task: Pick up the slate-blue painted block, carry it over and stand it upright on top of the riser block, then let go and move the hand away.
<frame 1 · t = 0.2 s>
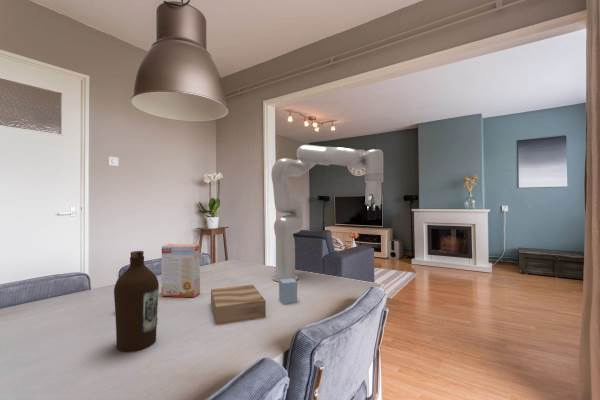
hand: (374, 219, 122), 31 cm above the table, tool pointing down, fingers open, 9 cm apart
cracker box: (181, 295, 120), on the table
riser block: (236, 311, 103), on the table
small box: (132, 310, 104), on the table
olive oil: (137, 344, 79), on the table
blue block: (288, 301, 112), on the table
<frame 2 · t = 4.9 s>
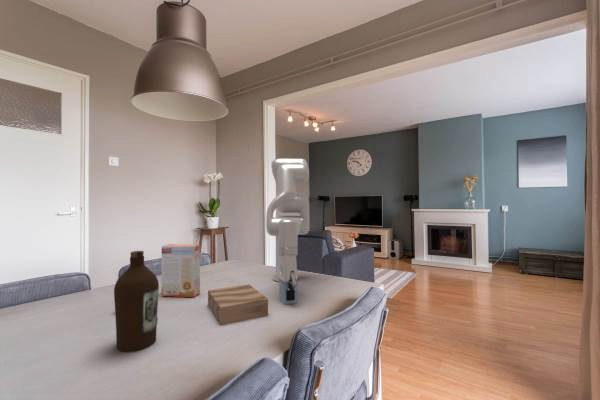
hand: (288, 297, 112), 2 cm above the table, tool pointing down, fingers closed on blue block, 5 cm apart
blue block: (288, 301, 112), on the table, touching gripper
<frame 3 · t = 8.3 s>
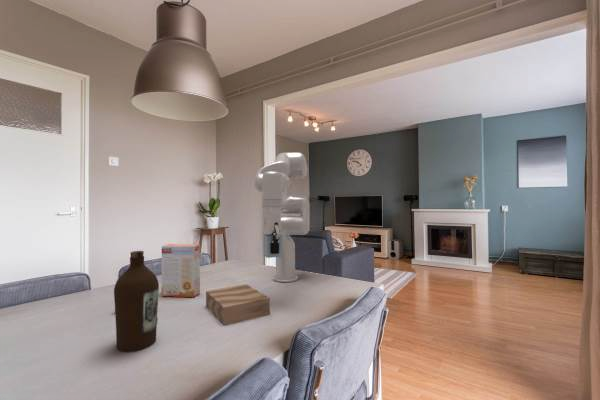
hand: (272, 251, 109), 20 cm above the table, tool pointing down, fingers closed on blue block, 5 cm apart
blue block: (272, 256, 109), point 18 cm above the table, touching gripper
when the fingers open (9 cm above the table, at t = 11.7 s): blue block drops 2 cm, point 6 cm above the table.
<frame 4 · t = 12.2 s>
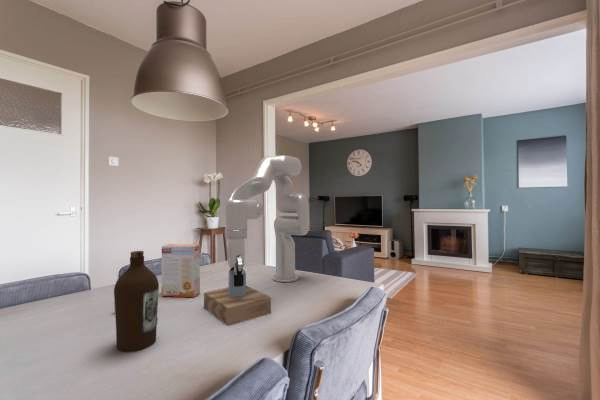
hand: (236, 282, 103), 10 cm above the table, tool pointing down, fingers open, 9 cm apart
blue block: (237, 294, 103), point 6 cm above the table
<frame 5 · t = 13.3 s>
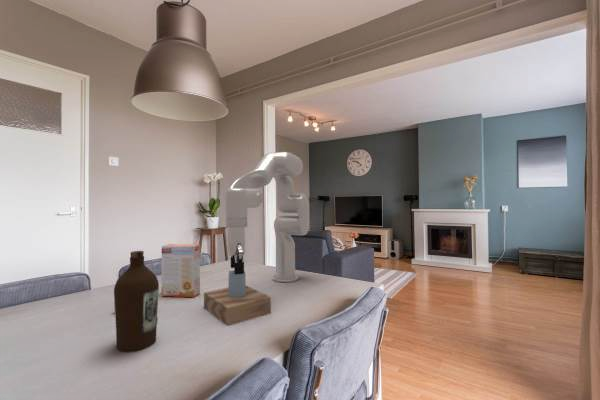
hand: (237, 270, 103), 14 cm above the table, tool pointing down, fingers open, 9 cm apart
riser block: (236, 311, 103), on the table, touching blue block
blue block: (236, 294, 103), point 5 cm above the table, touching riser block
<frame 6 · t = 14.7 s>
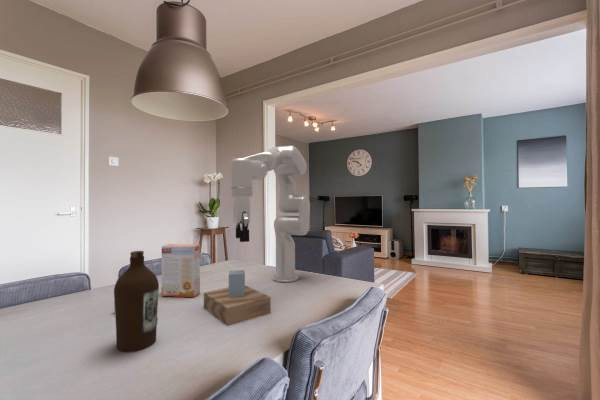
hand: (242, 239, 105), 25 cm above the table, tool pointing down, fingers open, 9 cm apart
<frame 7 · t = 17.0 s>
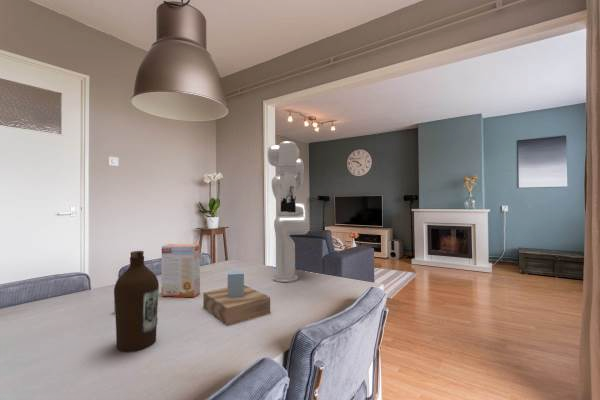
hand: (287, 211, 122), 34 cm above the table, tool pointing down, fingers open, 9 cm apart
at the end: blue block inside the target area on the riser block (0.0 cm from its centre), point 6.0 cm above the riser block's base; blue block tilted 1°; the gripper is holding nothing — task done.
